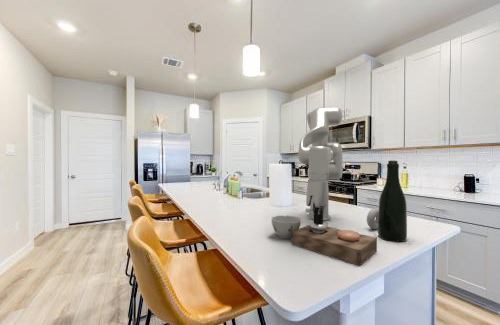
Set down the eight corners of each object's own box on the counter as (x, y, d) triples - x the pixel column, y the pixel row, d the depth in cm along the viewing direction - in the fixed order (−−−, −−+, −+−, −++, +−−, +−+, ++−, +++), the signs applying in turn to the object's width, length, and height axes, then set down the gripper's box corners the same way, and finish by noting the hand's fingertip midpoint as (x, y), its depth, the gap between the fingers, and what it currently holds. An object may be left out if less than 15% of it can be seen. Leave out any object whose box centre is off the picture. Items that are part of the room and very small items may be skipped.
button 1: (305, 237, 92) (305, 223, 92) (314, 233, 97) (314, 220, 97) (322, 241, 87) (322, 227, 87) (331, 237, 92) (331, 223, 92)
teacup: (306, 239, 97) (306, 220, 96) (280, 243, 92) (280, 223, 92) (288, 229, 111) (288, 212, 111) (264, 232, 106) (264, 215, 106)
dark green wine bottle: (405, 236, 100) (406, 160, 100) (407, 244, 91) (408, 160, 91) (378, 232, 106) (379, 160, 105) (377, 239, 97) (378, 160, 96)
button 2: (334, 248, 84) (334, 232, 84) (342, 242, 89) (343, 228, 89) (354, 253, 79) (354, 237, 78) (362, 248, 84) (362, 232, 84)
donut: (371, 231, 107) (371, 210, 106) (364, 229, 110) (365, 208, 110) (385, 228, 111) (385, 208, 111) (378, 226, 114) (378, 206, 114)
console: (291, 244, 92) (291, 231, 91) (312, 234, 103) (312, 223, 103) (360, 265, 73) (360, 250, 73) (376, 251, 84) (376, 237, 84)
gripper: (319, 176, 100) (319, 218, 100) (299, 178, 89) (299, 225, 89) (336, 177, 94) (335, 222, 94) (317, 179, 84) (317, 229, 84)
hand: (318, 223), depth 92 cm, fingers closed
